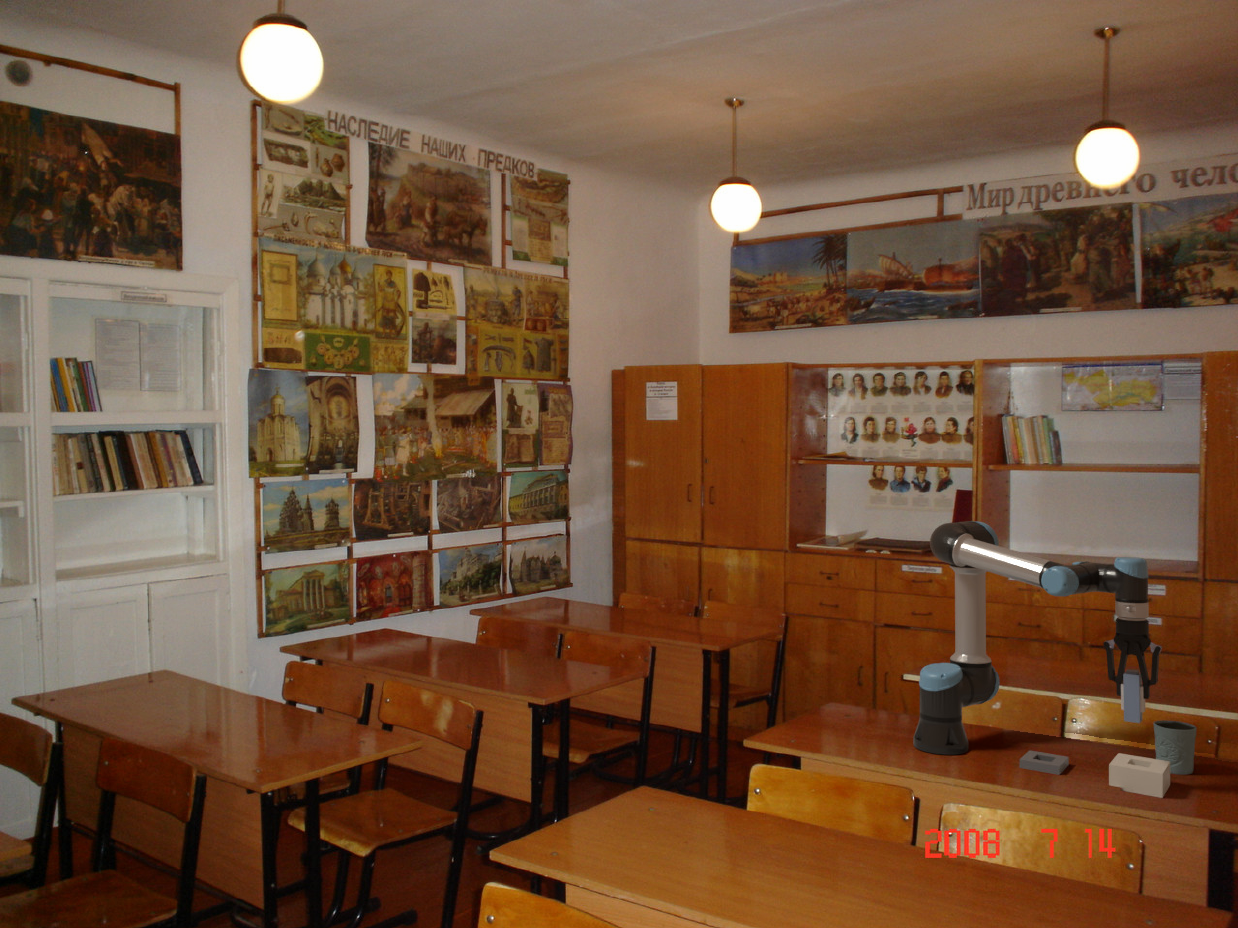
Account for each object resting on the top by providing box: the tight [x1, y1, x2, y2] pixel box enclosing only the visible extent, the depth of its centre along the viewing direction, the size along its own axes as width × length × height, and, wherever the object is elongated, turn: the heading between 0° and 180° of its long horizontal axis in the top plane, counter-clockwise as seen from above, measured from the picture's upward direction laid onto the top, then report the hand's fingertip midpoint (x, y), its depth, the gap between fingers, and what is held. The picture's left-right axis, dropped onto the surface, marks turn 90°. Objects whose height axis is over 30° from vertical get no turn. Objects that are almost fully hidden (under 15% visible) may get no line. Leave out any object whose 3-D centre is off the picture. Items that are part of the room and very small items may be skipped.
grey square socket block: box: [1019, 750, 1070, 775], centre depth 264 cm, size 10×10×3 cm
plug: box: [1123, 668, 1143, 724], centre depth 251 cm, size 4×4×13 cm
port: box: [1108, 752, 1171, 799], centre depth 250 cm, size 12×12×6 cm
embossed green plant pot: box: [1153, 719, 1198, 776], centre depth 264 cm, size 10×10×12 cm
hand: (1133, 709), depth 251 cm, fingers closed on plug, 4 cm apart
